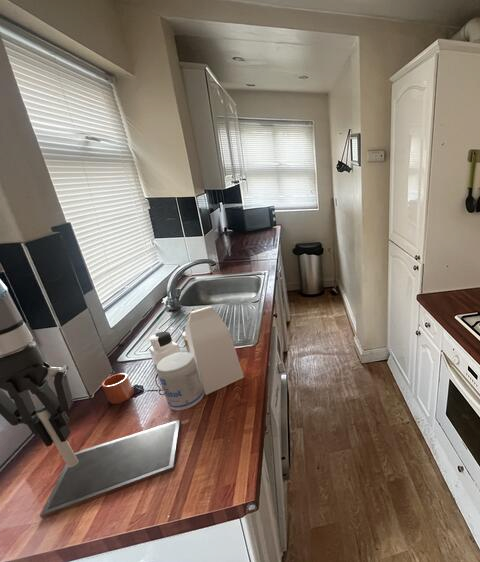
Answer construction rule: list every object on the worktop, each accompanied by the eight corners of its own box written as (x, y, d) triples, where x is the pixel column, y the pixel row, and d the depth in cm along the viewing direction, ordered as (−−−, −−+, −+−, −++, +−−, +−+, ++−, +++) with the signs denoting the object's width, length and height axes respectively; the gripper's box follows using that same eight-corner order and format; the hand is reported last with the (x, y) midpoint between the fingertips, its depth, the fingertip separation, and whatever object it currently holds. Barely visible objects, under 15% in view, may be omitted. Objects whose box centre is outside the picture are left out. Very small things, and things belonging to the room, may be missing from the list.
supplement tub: (162, 412, 90) (146, 372, 84) (180, 390, 99) (167, 351, 93) (195, 411, 90) (182, 370, 85) (210, 388, 99) (199, 350, 93)
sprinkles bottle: (196, 360, 114) (186, 328, 108) (208, 359, 113) (199, 328, 108) (189, 367, 109) (178, 335, 104) (201, 367, 109) (191, 335, 104)
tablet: (41, 518, 64) (39, 515, 64) (72, 456, 77) (70, 453, 77) (174, 470, 73) (173, 466, 73) (181, 422, 87) (180, 418, 86)
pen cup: (107, 407, 93) (98, 389, 90) (113, 394, 98) (105, 376, 95) (132, 400, 95) (124, 382, 92) (136, 388, 100) (129, 370, 98)
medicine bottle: (175, 354, 117) (166, 327, 113) (183, 360, 113) (174, 333, 109) (154, 364, 112) (143, 336, 107) (162, 371, 108) (152, 342, 103)
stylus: (66, 469, 69) (32, 412, 63) (70, 462, 71) (37, 406, 64) (77, 465, 70) (44, 409, 64) (80, 459, 72) (48, 403, 65)
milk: (205, 395, 96) (183, 323, 86) (196, 377, 104) (175, 309, 94) (244, 377, 104) (227, 309, 94) (232, 362, 112) (216, 297, 102)
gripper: (-66, 372, 53) (2, 467, 61) (48, 349, 58) (95, 439, 67) (-35, 350, 59) (23, 439, 68) (64, 330, 65) (106, 415, 73)
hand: (58, 438), depth 67 cm, fingers closed on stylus, 2 cm apart
